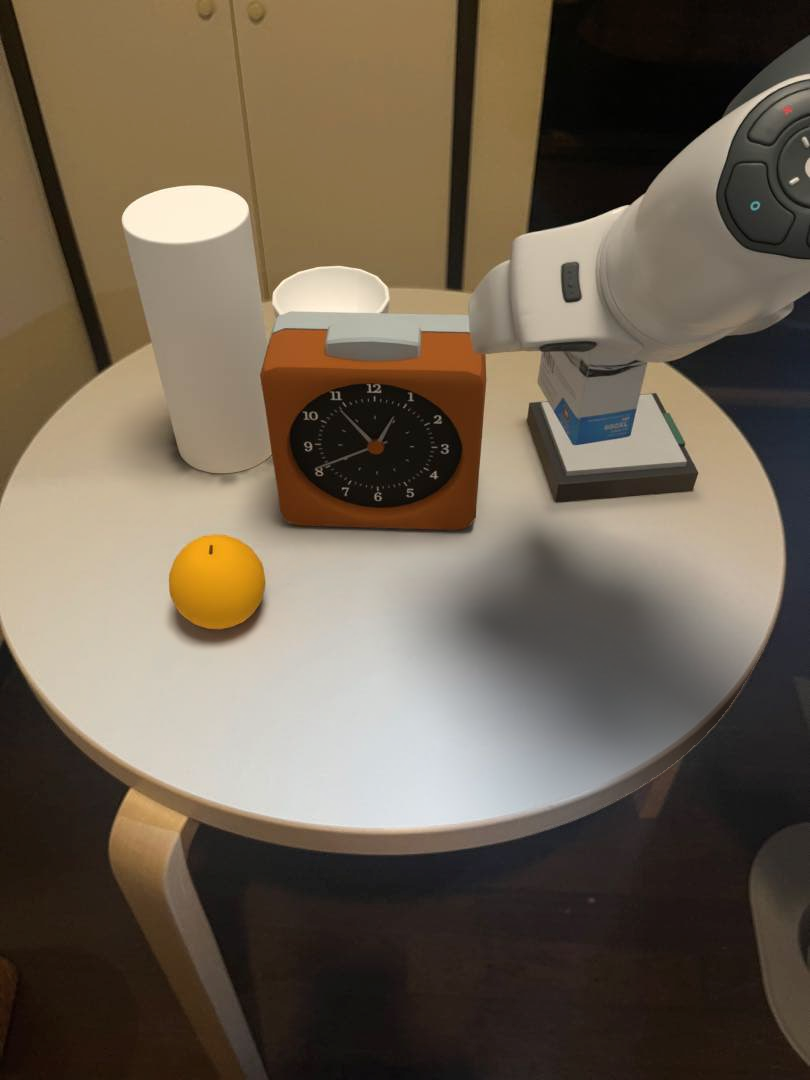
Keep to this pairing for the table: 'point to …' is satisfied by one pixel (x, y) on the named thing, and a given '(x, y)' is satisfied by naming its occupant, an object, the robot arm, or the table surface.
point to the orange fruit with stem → (216, 581)
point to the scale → (614, 456)
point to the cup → (331, 292)
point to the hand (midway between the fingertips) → (592, 334)
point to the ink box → (592, 393)
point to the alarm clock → (375, 419)
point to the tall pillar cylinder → (203, 320)
